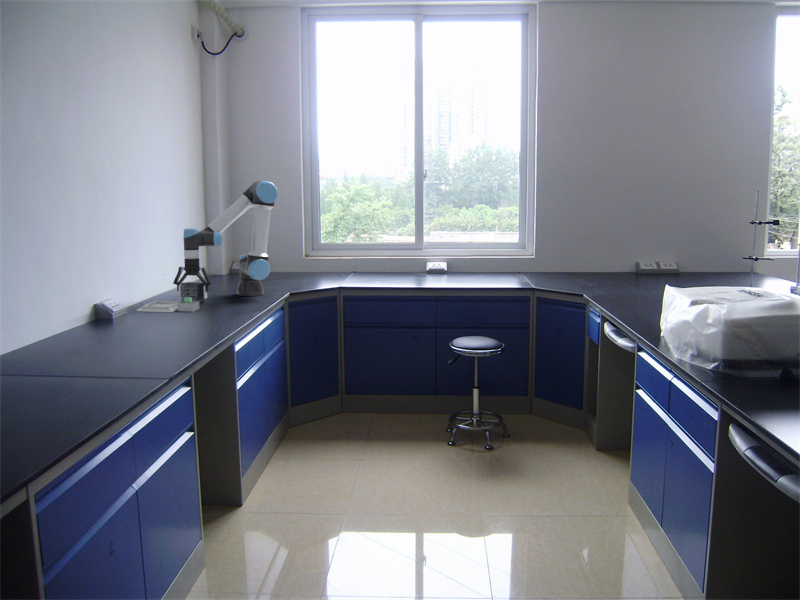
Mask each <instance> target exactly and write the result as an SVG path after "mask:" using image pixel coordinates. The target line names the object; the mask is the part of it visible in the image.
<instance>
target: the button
mask: <svg viewBox="0 0 800 600" xmlns="http://www.w3.org/2000/svg"><path fill="white" fill-rule="evenodd" d="M184 303H192V298H191V297H187V298H184Z"/></svg>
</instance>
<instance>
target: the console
mask: <svg viewBox="0 0 800 600" xmlns="http://www.w3.org/2000/svg"><path fill="white" fill-rule="evenodd" d="M180 301H181V302H179V303H177V312H191V313H193V312H196V311H197V310H200V303H199V301H192V303H184V300H183V301H182V300H180Z"/></svg>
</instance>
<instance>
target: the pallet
mask: <svg viewBox="0 0 800 600" xmlns="http://www.w3.org/2000/svg"><path fill="white" fill-rule="evenodd" d="M181 301H182V300H154V301H151V302H148V303H145V304H144V305H141V307H139V308H137V309H136V312H150V313H151V312H152V313H153V312H155V313H157V312H158V313H173V312H174V311H175V312H176V311H177V303H179V302H181ZM175 312H174V313H175ZM177 312H178V311H177Z"/></svg>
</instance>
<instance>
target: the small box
mask: <svg viewBox="0 0 800 600" xmlns="http://www.w3.org/2000/svg"><path fill="white" fill-rule="evenodd" d="M204 286H205V285H204V284H203V283H202V282H195V281H193V282H192V281H187V282H182V283H181V290H182V297H181V301H183V300H184V298H187V297H191V298H192V301H199V304H201V303H205V302H206V298H205V299H204Z"/></svg>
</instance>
